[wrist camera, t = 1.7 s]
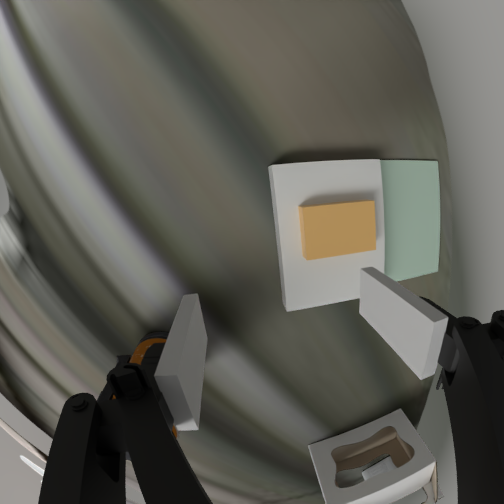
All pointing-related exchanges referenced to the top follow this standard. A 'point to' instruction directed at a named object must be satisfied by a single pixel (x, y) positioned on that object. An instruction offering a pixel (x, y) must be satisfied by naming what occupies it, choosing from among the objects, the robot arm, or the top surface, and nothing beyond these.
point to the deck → (289, 236)
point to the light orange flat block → (337, 228)
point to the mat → (411, 217)
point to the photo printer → (379, 468)
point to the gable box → (367, 449)
